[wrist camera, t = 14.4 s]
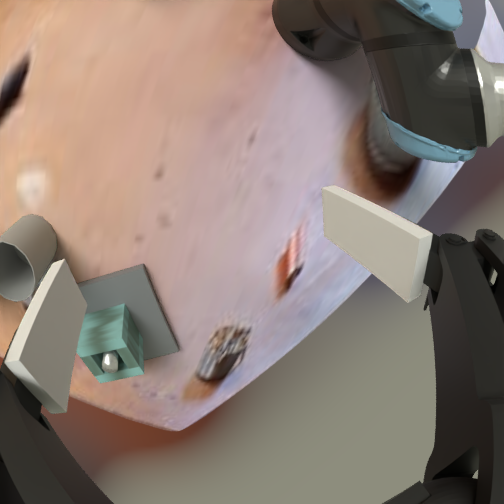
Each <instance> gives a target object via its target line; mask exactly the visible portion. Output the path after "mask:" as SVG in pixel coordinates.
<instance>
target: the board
mask: <svg viewBox="0 0 504 504" xmlns="http://www.w3.org/2000/svg"><path fill="white" fill-rule="evenodd" d="M77 285H78V287H79V289H80V291H81V293H82V295H83V297H84V299H85V301H86V303H87V308H86V312H85V314H88V313H92V312H96V311H99V310H103V309H107V308H110V307H114V306H117V305H121V304H125V305H126V307H127V309H128V311H129V313H130V315H131V317H132V319H133V321H134V323H135V325H136V327H137V329H138V331H139V333H140V335H141V337H142V338H143V358H144V360H148V359H152V358H156V357H159V356H163V355H167V354H171V353H175V352H178V351H179V349H178V345H177V343H176V340H175V338H174V336H173V334H172V332H171V330H170V327H169V325H168V323H167V321H166V318H165V316H164V314H163V311H162V309H161V307H160V304H159V302H158V299H157V297H156V295H155V292H154V290H153V287H152V285H151V282H150V279H149V277H148V274H147V272H146V269H145V266H144V264H140V265H137V266H134V267H130V268H127V269H124V270H120V271H117V272H114V273H110V274H107V275H104V276H100V277H97V278H94V279H91V280H87V281H84V282H81V283H78V284H77Z"/></svg>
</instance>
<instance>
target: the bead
mask: <svg viewBox="0 0 504 504" xmlns="http://www.w3.org/2000/svg"><path fill="white" fill-rule="evenodd" d="M112 350H117V352H118V370H117V371H116V372H115V373H108V372H106V371H104V370H103V369H102V360H103V352H107V351H112ZM76 352H77V353H78V355H79V356H80V358H81V359H82V360H83V362H84V363H85V364H86V366H87V367H88V368H89V370H90V371H91V372H92V374H93V375H94V376H95V377H96V379H97V380H98V381H99V382H100V383H104V382H109V381H114V380H119V379H123V378H128V377H133V376H137V375H141V374H144V358H143V338H142V337H141V335H140V333H139V331H138V329H137V327H136V325H135V323H134V321H133V319H132V317H131V315H130V313H129V311H128V309H127V307H126V305H125V304H121V305H117V306H114V307H110V308H107V309H103V310H99V311H96V312H92V313H88V314H85V316H84V320H83V324H82V328H81V332H80V337H79V341H78V346H77V350H76Z"/></svg>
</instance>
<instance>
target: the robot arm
mask: <svg viewBox="0 0 504 504" xmlns="http://www.w3.org/2000/svg"><path fill="white" fill-rule="evenodd" d="M461 13H462V7H461V4H460V1H459V0H274V1H273V5H272V15H273V20H274V23H275V25H276V27H277V29H278V31H279V33H280V34H281V36H282V37H283V38H284V39H285V41H286V42H287V43H288V44H289V45H290V46H292V47H293V48H294V49H295V50H297V51H298V52H300V53H301V54H303V55H305V56H307V57H310V58H313V59H316V60H322V61H332V60H337V59H341V58H345V57H347V56H350V55H351V54H353V53H354V52H355V51H357V49H359V48H360V47H361V46H363V48H364V51H365V54H366V57H367V60H368V63H369V66H370V69H371V72H372V75H373V78H374V81H375V84H376V88H377V91H378V95H379V98H380V102H381V106H382V107H381V111H382V114H383V116H384V118H385V120H386V123H387V126H388V130H389V134H390V137H391V139H392V140H393V142H394V143H395V144H396V145H397V146H398V147H400V148H401V149H402V150H404V151H405V152H407V153H409V154H411V155H414V156H416V157H419V158H422V159H426V160H431V161H437V162H445V163H456V162H458V160H459V161H463V162H464V161H467V160H470V159H471V158H472V157H473V156H474V155H475V152H476V151H477V146H481V147H490V146H491V145H492V144H493V142H494V141H495V140H496V139H497V138H498V137H500V136H504V64H503V63H491V62H488V61H486V60H485V59H484V58H483V57H481V56H480V55H479V54H478V53H477V52H476V51H474V50H473V49H459V48H458V47H457V44H456V41H455V37H454V34H453V31H454V30H456V29H457V28H458V27H460V26H461V24H462V21H463V16H462V14H461ZM322 201H323V222H324V236H325V237H326V238H327V239H329V240H330V241H331V242H333V243H334V244H335V245H337V246H338V247H339V248H340V249H342V250H343V251H344V252H346V253H347V254H348V255H349V256H351V257H352V258H353V259H355V260H356V261H357V262H358V263H360V264H361V265H362V266H363V267H365V268H366V269H367V270H368V271H370V272H371V273H372V274H374V275H375V276H376V277H377V278H379V279H380V280H381V281H382V282H383V283H385V284H386V285H387V286H388V287H390V288H391V289H392V290H393V291H394V292H396V293H397V294H398V295H399V296H400V297H401V298H403V299H404V300H405V301H406V302H407V303H409V302H410V301H412V300H414V299H416V298H418V297H419V296H420V295H421V291H422V287H423V283H424V284H426V285H427V286H429V290H428V294H427V298H426V302H425V305H424V310H426V308H427V306H428V305H429V308H430V315H431V323H432V331H433V341H434V352H435V369H436V429H435V430H436V431H435V443H434V448H433V451H432V454H431V456H430V458H429V461H428V463H427V466H426V470H425V475H424V482H423V483H421V482H420V481H419V482H417V483H415V484H414V485H412V486H411V487H409V488H408V489H406V490H404V491H403V492H401V493H400V494H398V495H396V496H394V497H393V498H391V499H389V500H388V501H386V502H384V503H383V504H504V240H503V239H502V238H501V237H500V236H499V235H498V234H497V233H495V232H493V231H492V230H489V229H479V230H477V231H476V236H475V241H472V242H468V241H467V240H466V239H465V238H463V237H461V236H459V235H456V234H443V235H441V236H440V237H439V236H437V235H435V234H433V233H432V232H430V231H428V230H426V229H424V228H423V227H421V226H418V225H417V224H415V223H413V222H411V221H409V220H407V219H405V218H404V217H401V216H399V215H397V214H395V213H393V212H391V211H389V210H387V209H385V208H383V207H381V206H379V205H376V204H374V203H372V202H370V201H368V200H366V199H364V198H362V197H359V196H357V195H355V194H353V193H351V192H348V191H346V190H344V189H342V188H339V187H337V186H335V185H332V186H328V187H323V188H322ZM494 269H495V270H496V272H497V277H496V281H495V283H494V285H493V284H492V283H491V282H490V281H491V278H492V275H493V271H494ZM86 308H87V303H86V301H85V299H84V297H83V295H82V293H81V291H80V289H79V287H78V285H77V283H76V281H75V279H74V277H73V275H72V273H71V271H70V269H69V266H68V264H67V262H66V260H65V259H63V260H60V261H57V262H54V263H53V264H52V265H51V267H50V269H49V270H48V272H47V274H46V275H45V277H44V279H43V281H42V283H41V284H40V286H39V288H38V290H37V292H36V294H35V295H34V297H33V299H32V301H31V303H30V305H29V307H28V309H27V311H26V313H25V315H24V317H23V319H22V321H21V324H20V326H19V327H18V329H17V330H16V331H15V333H14V336H13V338H12V341H11V343H10V345H9V349H8V350H7V352H6V355H5V357H4V360H3V363H2V365H1V368H0V504H114V503H113V502H112V501H111V500H110V499H109V498H108V497H107V496H106V495H105V494H104V493H103V492H102V491H101V490H100V489H99V488H98V486H97V485H96V484H95V483H94V482H93V481H92V480H91V479H90V477H88V475H87V474H86V473H85V471H84V470H83V469H82V468H81V467H80V465H79V464H78V463H77V462H76V460H75V459H74V458H73V456H72V455H71V454H70V452H69V451H68V450H67V448H66V447H65V446H64V444H63V443H62V441H61V440H60V438H59V437H58V435H57V434H56V432H55V431H54V429H53V428H52V426H51V425H50V423H49V422H48V420H47V418H46V417H45V416H44V415H43V414H42V413H41V406H42V405H43V406H44V407H45V408H46V409H47V410H48V411H49V412H50V413H51V414H55V413H65V412H67V405H68V397H69V390H70V384H71V377H72V371H73V366H74V361H75V355H76V350H77V346H78V341H79V337H80V332H81V328H82V324H83V320H84V316H85V312H86ZM477 470H478V479H474V478H472V477H473V475H474V473H475V472H476V471H477Z"/></svg>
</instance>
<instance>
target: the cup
mask: <svg viewBox="0 0 504 504" xmlns="http://www.w3.org/2000/svg"><path fill="white" fill-rule="evenodd" d="M56 249H57V239H56V234H55V232H54V230H53V228H52V226H51V224H50V223H48V222H47V221H46V220H45V219H44V218H43V217H41V216H38V215H34V214H30V215H26V216H23V217H22V218H20V219H19V220H18V221H17V222H16V223H15V224H13V225H12V226H11V227H10V228H9V229H8V230H7V231H6V232H5V233H4V234H3V235H1V236H0V295H2V296H3V297H4V298H6V299H9V300H12V301H15V302H17V301H23V300H26V299H27V298H28V297H29V296H30V295H31V294H32V293H33V292H34V290H35V288H36V286H37V285H38V283H39V281H40V279H41V278H42V276H43V274H44V273H45V271H46V269H47V268H48V266H49V264H50V263H51V261H52V259H53V258H54V255H55V252H56Z"/></svg>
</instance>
